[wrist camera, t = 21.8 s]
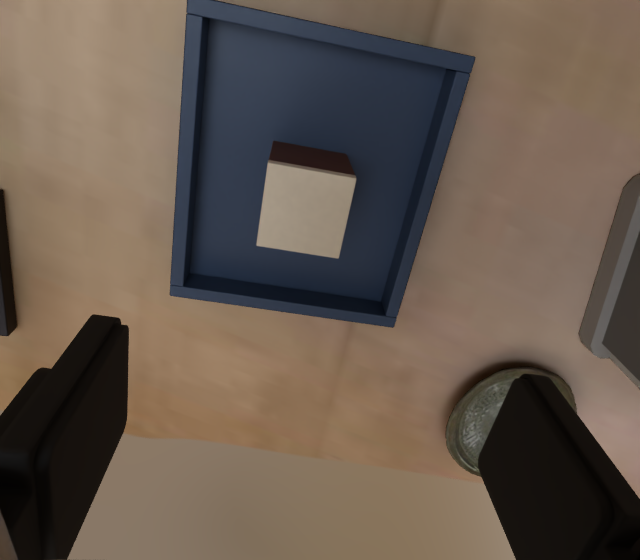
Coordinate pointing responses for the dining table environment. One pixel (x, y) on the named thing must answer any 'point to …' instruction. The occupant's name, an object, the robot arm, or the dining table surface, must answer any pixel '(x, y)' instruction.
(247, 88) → the tray
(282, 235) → the cake slice
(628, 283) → the alarm clock
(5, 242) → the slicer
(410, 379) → the dining table surface
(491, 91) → the dining table surface
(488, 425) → the lid
